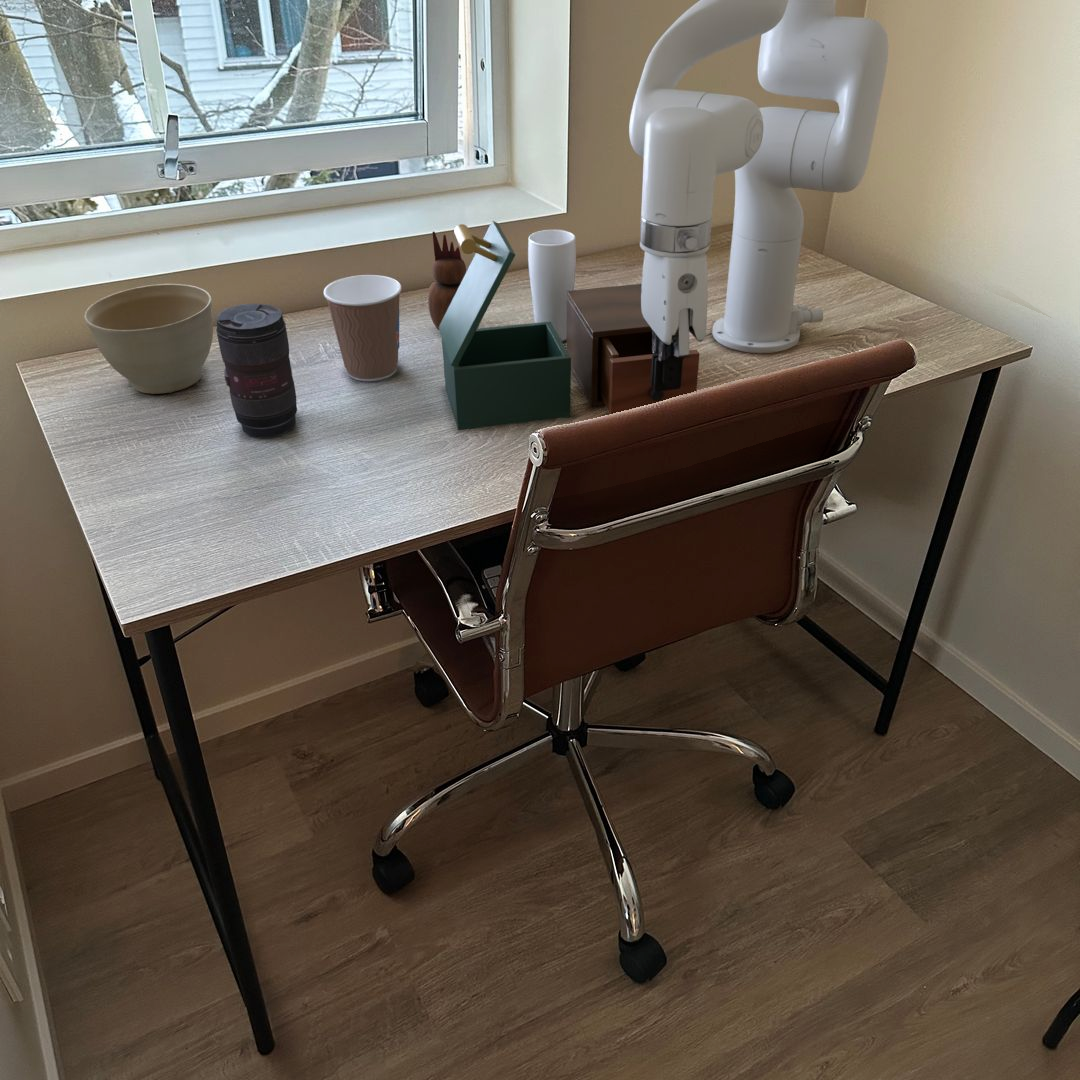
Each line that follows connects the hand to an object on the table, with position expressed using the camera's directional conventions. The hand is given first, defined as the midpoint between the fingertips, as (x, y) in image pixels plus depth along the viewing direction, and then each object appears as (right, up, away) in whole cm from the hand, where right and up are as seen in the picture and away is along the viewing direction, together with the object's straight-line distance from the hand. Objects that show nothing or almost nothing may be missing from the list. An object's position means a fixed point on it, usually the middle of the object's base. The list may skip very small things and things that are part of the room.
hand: (665, 386), depth 120 cm
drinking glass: (-13, +12, +31) cm, 36 cm away
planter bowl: (-66, +4, +21) cm, 70 cm away
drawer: (-2, 0, +12) cm, 12 cm away
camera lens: (-49, -4, +10) cm, 50 cm away
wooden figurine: (-28, +13, +34) cm, 46 cm away
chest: (-19, 0, +14) cm, 24 cm away
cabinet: (-4, +4, +19) cm, 20 cm away
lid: (-22, +12, +5) cm, 26 cm away
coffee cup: (-38, +5, +23) cm, 45 cm away
